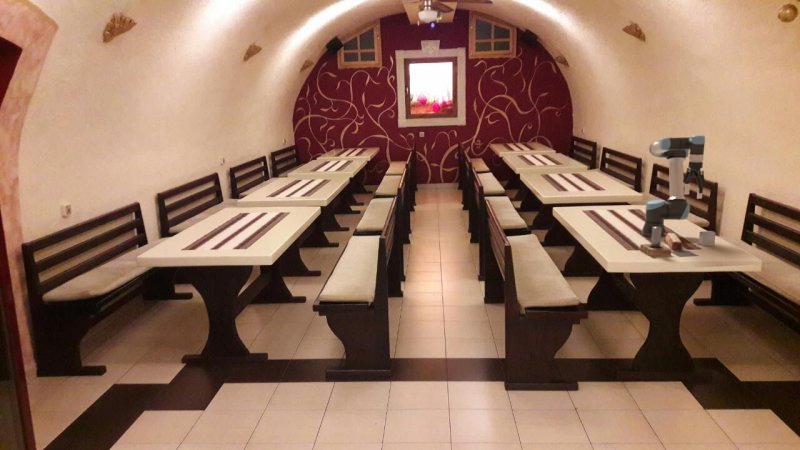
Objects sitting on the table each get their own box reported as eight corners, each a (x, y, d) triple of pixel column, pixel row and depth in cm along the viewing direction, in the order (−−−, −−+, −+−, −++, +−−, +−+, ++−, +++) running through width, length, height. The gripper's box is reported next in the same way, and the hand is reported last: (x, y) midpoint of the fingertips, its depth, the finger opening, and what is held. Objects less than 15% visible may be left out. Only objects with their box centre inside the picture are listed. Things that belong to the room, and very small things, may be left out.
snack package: (682, 251, 350) (683, 240, 349) (670, 251, 352) (671, 240, 350) (675, 242, 370) (676, 232, 369) (664, 242, 372) (665, 232, 370)
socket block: (640, 250, 354) (640, 244, 354) (659, 249, 355) (659, 243, 354) (651, 256, 341) (651, 250, 340) (670, 255, 341) (671, 249, 341)
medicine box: (710, 244, 364) (711, 230, 362) (714, 246, 360) (715, 232, 358) (698, 244, 364) (699, 231, 362) (702, 246, 359) (703, 233, 357)
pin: (649, 252, 350) (650, 226, 347) (657, 251, 351) (659, 226, 347) (653, 254, 345) (655, 228, 342) (661, 254, 346) (663, 228, 342)
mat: (668, 252, 349) (668, 251, 349) (688, 251, 350) (688, 250, 350) (679, 257, 338) (679, 256, 338) (699, 256, 338) (699, 255, 338)
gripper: (678, 159, 357) (675, 192, 362) (701, 164, 332) (698, 200, 337) (690, 158, 357) (687, 192, 362) (714, 163, 333) (711, 199, 338)
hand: (692, 196), depth 350 cm, fingers open, 13 cm apart
